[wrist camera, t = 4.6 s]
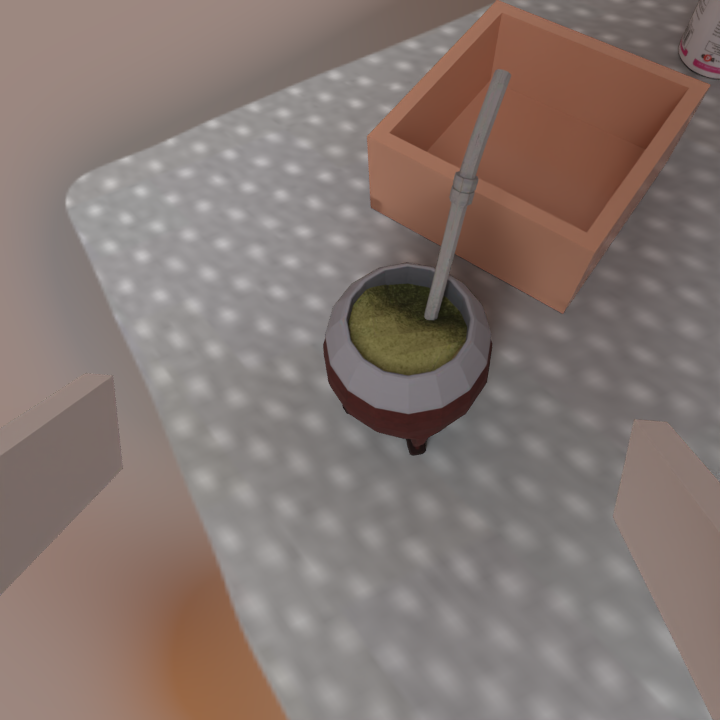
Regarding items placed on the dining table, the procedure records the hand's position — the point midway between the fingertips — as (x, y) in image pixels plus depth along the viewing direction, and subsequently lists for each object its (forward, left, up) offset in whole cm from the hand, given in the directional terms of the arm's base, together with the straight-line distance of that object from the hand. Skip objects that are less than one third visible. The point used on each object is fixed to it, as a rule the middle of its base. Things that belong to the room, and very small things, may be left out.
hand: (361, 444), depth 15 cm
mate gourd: (-7, -3, -14) cm, 15 cm away
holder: (-21, -5, -13) cm, 26 cm away
